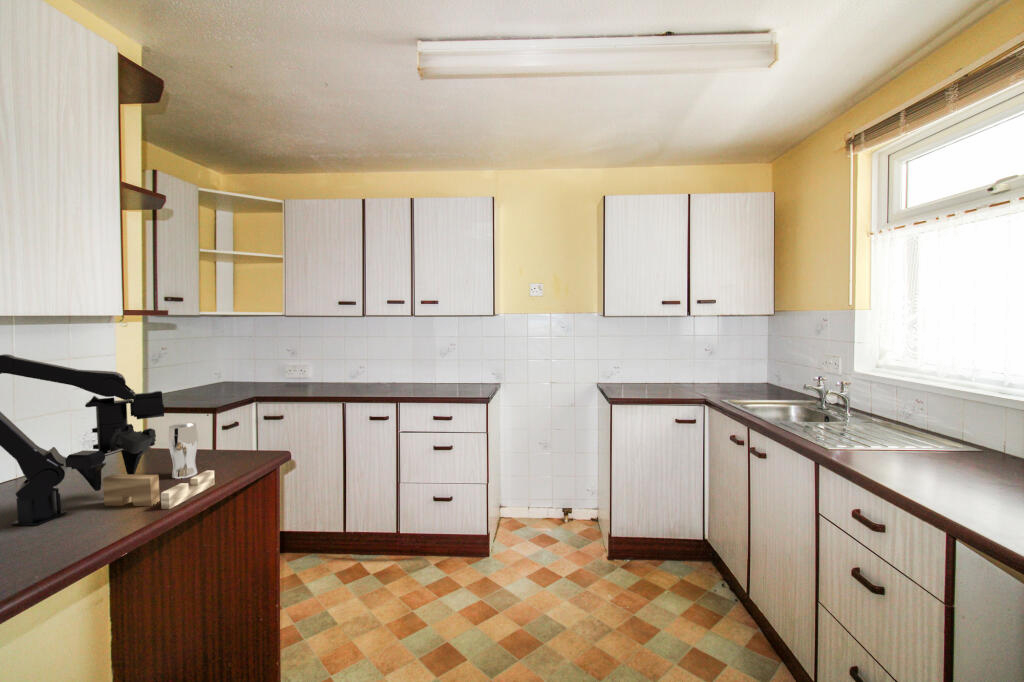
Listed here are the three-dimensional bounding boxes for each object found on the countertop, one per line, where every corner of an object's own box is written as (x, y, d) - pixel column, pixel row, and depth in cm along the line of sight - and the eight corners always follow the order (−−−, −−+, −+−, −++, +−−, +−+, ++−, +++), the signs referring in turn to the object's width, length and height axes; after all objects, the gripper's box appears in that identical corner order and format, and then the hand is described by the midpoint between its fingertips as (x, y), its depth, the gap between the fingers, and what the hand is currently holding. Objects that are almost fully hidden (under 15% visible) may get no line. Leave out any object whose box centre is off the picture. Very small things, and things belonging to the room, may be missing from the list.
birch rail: (169, 509, 109) (168, 493, 108) (161, 508, 109) (160, 492, 108) (214, 484, 125) (214, 470, 124) (207, 484, 125) (207, 470, 124)
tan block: (151, 505, 111) (150, 478, 110) (104, 505, 111) (103, 478, 110) (159, 501, 113) (158, 474, 113) (113, 501, 113) (112, 474, 113)
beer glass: (194, 477, 130) (191, 427, 129) (165, 480, 128) (163, 429, 127) (202, 470, 136) (200, 421, 135) (175, 472, 134) (173, 423, 133)
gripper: (109, 432, 101) (112, 499, 102) (173, 414, 120) (175, 471, 121) (61, 431, 102) (65, 498, 102) (132, 414, 120) (135, 470, 121)
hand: (115, 483), depth 112 cm, fingers open, 9 cm apart
